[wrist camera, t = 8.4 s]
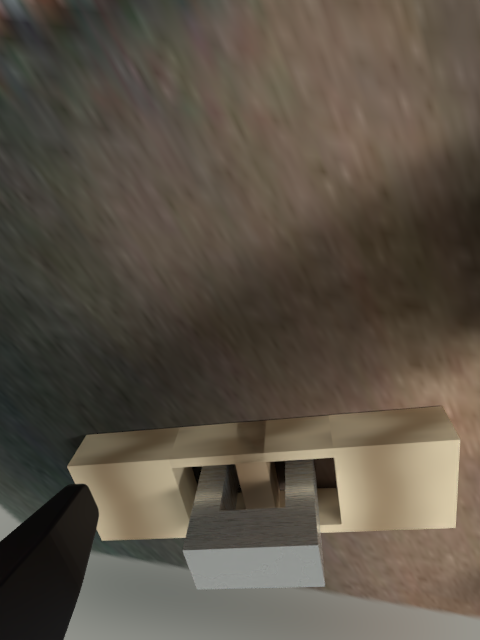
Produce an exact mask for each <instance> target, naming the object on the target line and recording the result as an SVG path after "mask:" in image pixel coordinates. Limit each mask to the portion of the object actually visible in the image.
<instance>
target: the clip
mask: <svg viewBox="0 0 480 640" xmlns="http://www.w3.org/2000/svg"><path fill="white" fill-rule="evenodd" d="M238 487H239V478H238V474H237V470H236V466H235V464H228V465H212V466H202V469H201V474H200V478H199V482H198V487H197V491H196V495H195V499H194V504H193V508H192V512H191V516H190V521H189V525H188V529H187V534H186V538H185V542H184V546H183V553H184V556H185V558H186V561H187V564H188V566H189V569H190V572H191V574H192V577H193V580H194V582H195V585H196V588H197V589H233V588H234V589H235V588H280V587H324V586H325V578H324V566H323V554H322V542H321V530H320V518H319V506H318V494H317V483H316V473H315V466H314V460H313V459H305V460H289V461H285V507H281V508H262V509H244V510H236V503H237V495H238Z"/></svg>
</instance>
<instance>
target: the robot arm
mask: <svg viewBox="0 0 480 640" xmlns="http://www.w3.org/2000/svg"><path fill="white" fill-rule="evenodd" d="M98 519H99V510H98V506H97V504H96V502H95V500H94V498H93V496H92V493H91V491H90V489H89V487H88V486H87V485H86V484H70V485H67V486H66V487H64V488H63V489H62V490H61V491H60V492H59V493H57V494H56V495H55V496H54V497H53V498H51V499H50V500H49V501H48V502H47V503H46V504H44V505H43V506H42V507H41V508H40V509H38V510H37V511H36V512H35V513H34V514H33V515H31V516H30V517H29V518H28V519H27V520H25V521H24V522H23V523H22V524H21V525H20V526H18V527H17V528H16V529H15V530H14V531H12V532H11V533H10V534H9V535H8V536H7V537H5V538H4V539H3V540H2V541H1V542H0V640H63V639H64V637H65V633H66V631H67V628H68V625H69V622H70V619H71V617H72V614H73V611H74V608H75V605H76V602H77V599H78V596H79V593H80V590H81V586H82V583H83V579H84V575H85V571H86V567H87V563H88V559H89V556H90V552H91V548H92V544H93V540H94V536H95V532H96V528H97V524H98Z"/></svg>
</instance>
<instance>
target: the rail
mask: <svg viewBox="0 0 480 640" xmlns="http://www.w3.org/2000/svg"><path fill="white" fill-rule="evenodd" d="M459 453H460V438H459V436H458V435H457V433H456V431H455V429H454V427H453V425H452V423H451V421H450V420H449V418H448V416H447V414H446V412H445V410H444V408H443V406H437V407H424V408H412V409H400V410H387V411H375V412H363V413H350V414H338V415H326V416H313V417H301V418H289V419H276V420H264V421H252V422H239V423H227V424H215V425H202V426H190V427H178V428H165V429H153V430H141V431H128V432H116V433H104V434H91V435H86V436H85V438H84V440H83V441H82V443H81V445H80V446H79V448H78V449H77V451H76V453H75V454H74V456H73V458H72V459H71V461H70V462H69V464H68V466H67V468H68V470H69V472H70V474H71V476H72V478H73V480H74V482H75V484H86V485H87V486H88V487H89V489H90V491H91V493H92V496H93V498H94V500H95V502H96V504H97V506H98V510H99V519H98V524H97V528H96V529H97V531H98V533H99V535H100V537H101V539H102V541H105V540H133V539H160V538H186V534H187V529H188V525H189V521H190V516H191V512H192V508H193V504H194V499H195V495H196V491H197V487H198V486H197V482H196V479H195V476H194V473H193V469H192V467H197V466H212V465H228V464H235V466H236V470H237V474H238V478H239V482H240V486H241V490H242V493H238V495H237V503H236V510H244V509H262V508H281V507H285V490H281V491H280V489H279V484H278V479H277V474H276V469H275V463H274V461H289V460H305V459H320V458H333V459H334V468H335V476H336V485H337V488H319V489H317V494H318V506H319V518H320V530H321V533H326V532H354V531H382V530H409V529H437V528H456V509H457V491H458V472H459Z"/></svg>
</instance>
